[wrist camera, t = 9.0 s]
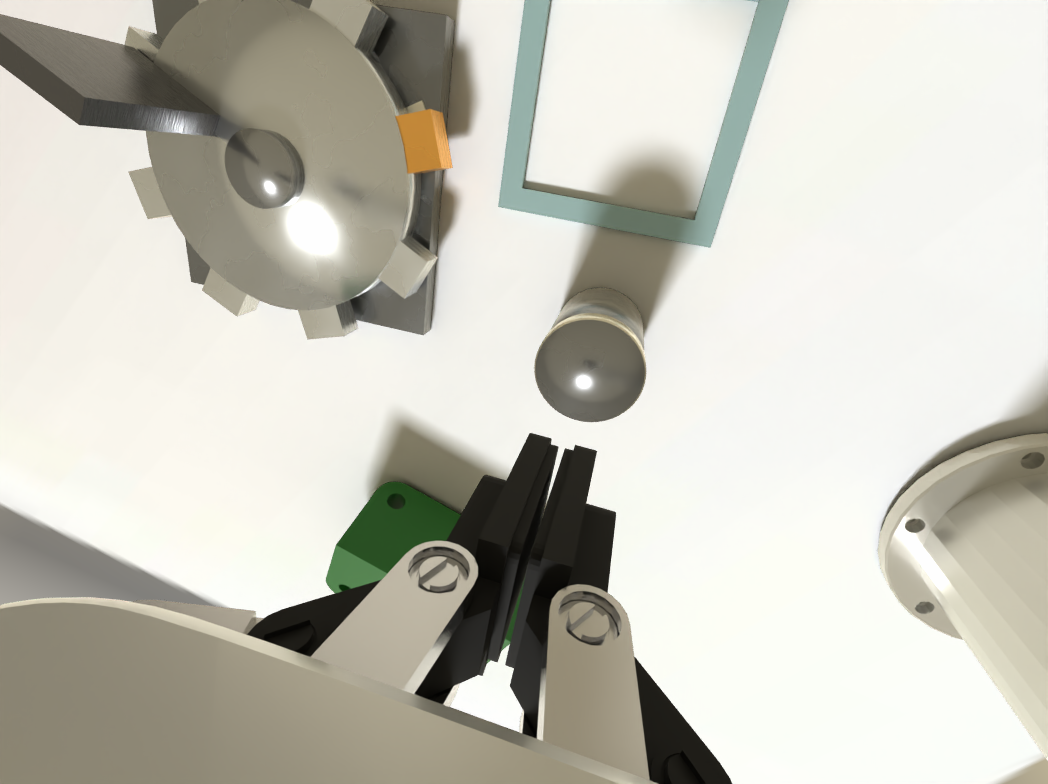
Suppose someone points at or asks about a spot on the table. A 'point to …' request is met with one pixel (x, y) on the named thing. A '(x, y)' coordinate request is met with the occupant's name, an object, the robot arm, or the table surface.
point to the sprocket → (260, 145)
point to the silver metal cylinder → (593, 357)
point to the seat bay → (619, 217)
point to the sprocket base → (422, 83)
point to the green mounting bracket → (391, 537)
